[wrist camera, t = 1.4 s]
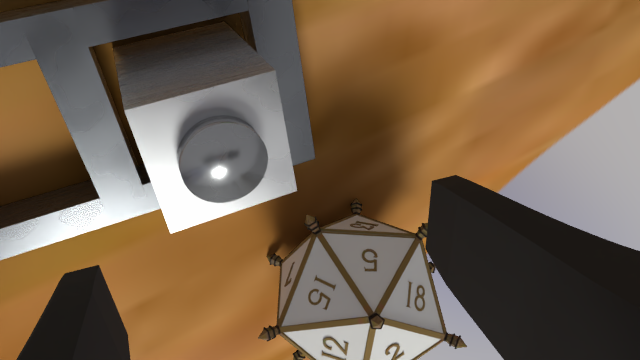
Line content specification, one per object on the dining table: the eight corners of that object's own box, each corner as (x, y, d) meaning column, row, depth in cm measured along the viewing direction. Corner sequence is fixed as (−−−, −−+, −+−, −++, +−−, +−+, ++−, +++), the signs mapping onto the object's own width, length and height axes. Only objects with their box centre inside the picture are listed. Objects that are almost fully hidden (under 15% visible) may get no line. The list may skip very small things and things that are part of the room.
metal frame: (-82, 261, 18) (-94, 290, 17) (-238, 60, 14) (-271, 78, 12) (301, 142, 22) (315, 158, 20) (271, -43, 18) (286, -37, 16)
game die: (328, 192, 28) (503, 255, 24) (274, 331, 28) (444, 420, 24) (255, 152, 20) (500, 238, 16) (176, 348, 20) (410, 488, 16)
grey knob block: (148, 147, 19) (173, 245, 14) (112, 47, 17) (125, 119, 12) (246, 119, 20) (303, 200, 15) (224, 21, 18) (282, 76, 13)
